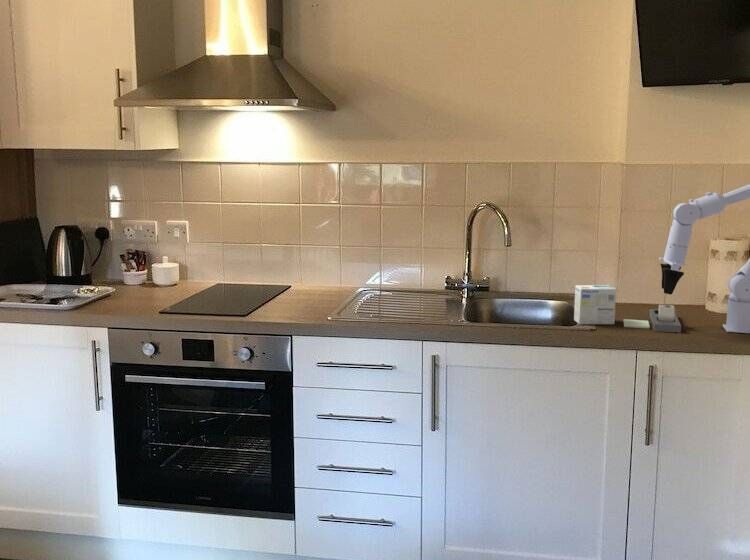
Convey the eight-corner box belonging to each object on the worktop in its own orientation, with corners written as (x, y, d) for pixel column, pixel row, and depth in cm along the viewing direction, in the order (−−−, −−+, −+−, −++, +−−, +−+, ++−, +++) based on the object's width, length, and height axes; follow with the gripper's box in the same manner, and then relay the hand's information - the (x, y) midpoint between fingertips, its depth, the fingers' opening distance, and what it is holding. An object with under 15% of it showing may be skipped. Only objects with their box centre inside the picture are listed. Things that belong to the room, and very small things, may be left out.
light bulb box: (607, 319, 240) (610, 284, 238) (615, 324, 233) (617, 288, 231) (572, 319, 239) (574, 284, 238) (579, 324, 233) (580, 288, 231)
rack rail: (673, 316, 244) (674, 310, 243) (680, 332, 224) (681, 325, 223) (649, 315, 245) (649, 308, 245) (654, 331, 225) (654, 324, 225)
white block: (671, 325, 233) (673, 304, 232) (673, 328, 229) (674, 307, 228) (657, 324, 234) (658, 304, 233) (658, 327, 230) (660, 306, 229)
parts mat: (648, 322, 236) (648, 320, 236) (649, 328, 229) (649, 326, 228) (623, 320, 238) (623, 319, 238) (624, 326, 230) (624, 325, 230)
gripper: (660, 239, 235) (650, 284, 237) (665, 245, 221) (654, 292, 224) (685, 244, 233) (675, 289, 236) (691, 250, 219) (680, 298, 222)
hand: (666, 291), depth 230 cm, fingers open, 7 cm apart
